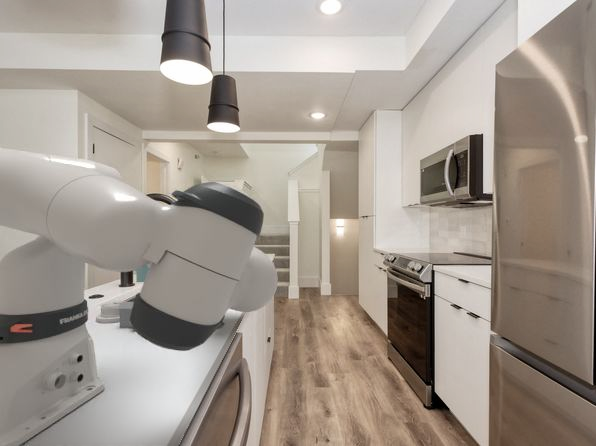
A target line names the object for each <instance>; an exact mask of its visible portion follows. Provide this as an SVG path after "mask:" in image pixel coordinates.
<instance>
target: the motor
mask: <svg viewBox="0 0 596 446" xmlns="http://www.w3.org/2000/svg"><path fill="white" fill-rule="evenodd" d="M135 297H136V295H133V296H132V297H129V298H127V299H125V300H122V301H123V302H120V303H119V317H120V322H119V328H120V329H124V328H125V329H126V328H127V329H129V328H132V329H134V327H133V326H132V324H131V322H130V317H131V311H132V307H133V303H134V300H135Z"/></svg>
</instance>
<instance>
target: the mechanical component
mask: <svg viewBox="0 0 596 446" xmlns="http://www.w3.org/2000/svg"><path fill="white" fill-rule="evenodd" d="M123 301H124V300H117V301H109V302H107V303H103V304H101V305H100V306H101V307H100V313H98V314H96V316H95V321H96V322H97V323H101V324H111V323H113V324H114V323H120V317H119V303H120V302H123Z"/></svg>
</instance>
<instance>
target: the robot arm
mask: <svg viewBox="0 0 596 446" xmlns="http://www.w3.org/2000/svg"><path fill="white" fill-rule="evenodd" d="M171 196H172V197H173V198H175V199H176V200H175V201H174V202H172V203H171V204H164V203H161V202H159V201H158V200H155V199H153V198H151V197H150V196H148V195H146V194H145V193H143V192H142V191H140V190H138V189H137V188H135V187H134V186H132V185H130V184H128V183H126V182H125V180H124V178H123V176H122V175H121V174H120V172H119V171H118V170H117V169H116V167H112V166H110V165H107V164H103V163H100V162H97V161H94V160H91V159H86V158H81V157H79V158H77V157H72V156H71V157H70V156H63V155H57V154H49V153H43V152H35V151H34V152H33V151H27V150H20V149H11V148H6V147H5V148H4V147H0V226H1V227H4V228H5V227H6V228H9V229H12V230H17V231H21V232H24V233H29V234H33V235H37V237H35V239H33V240H31V241H28V242H26V243H25V244H23V245H20V246H17V247H16V248H14V249H12V250H11V251H9V252H8V253H6V254H5V255H4V256H3V257H2V259H1V260H0V446H21V445H23V444H24V443H25V442H27V441H29V440H30V439H31V438H33V437H34V436H37V434H39V433H41V432H42V431H44V430H45V429H47V428H48V427H50V426H51V425H53V424H54V423H56V422H57V421H59V420H60V419H62V418H63V417H65V416H67V415H68V414H69V413H71V412H73V411H74V410H76V409H77V408H79V407H80V406H81V405H83V404H84V403H86V402H88V401H89V400H90V399H91V400H92V398H94V397H95V396H97V395H98V394H100V393H101V392H102V391H104V390H105V383H104V381H103V380H102V379H100V378H99V376H98V367H97V359H96V352H95V344H94V340H93V338H92V337H91V335H90V332H89V331H88V329H87V325H86V323H87V321H88V320H89V316H88V315H89V307H88V301H87V299H85V277H86V276H85V275H86V274H85V272H86V270H85V269H86V264H88V265H90V266H93V267H96V268H99V269H103V270H106V271H111V272H117V273H127V272H132V271H136V270H137V269H140V268H142V267H144V266H146V265H147V266H148V268H149V270H148V273H147V275H146V278H145V281H144V282H142V283H143V284H142V287H141V289H140V292H138V293H136V295H135V296H136V297H135V300H134V303H133V307H132V311H131V317H130V322H131V324H132V326H133V327H134V328H133V329H134V331H135V332H136V334H138V335H139V336H140V337H142V338H143V339H145V340H146V341H147V342H149V343H151V344H152V345H154V346H156V347H159V348H162V349H166V350H172V351H178V352H179V351H180V352H187V351H191V350H192V349H195V348H198V347H199V346H202V345H203V344H205V342H206V341H208V339H210V338H211V336H212V335H213V334H214V333H215V332H216V331H217V330H221V329H222V328H223V327H224V326H225V325H226V324H225V322H224V321H223V320H224V319H225V317H226V316H225V314H226V313H227V312H228V310H229V309H230V310H232V311H235V312H240V313H241V312H242V313H250V312H252V313H253V312H256V311H258V310H261V309H263V308H264V307H265V306H267V305H268V304H269V303H270V302H271V300H272V299H273V297H274V296H275V293H276V292H277V288H278V281H279V280H278V277H279V276H278V273H277V269H276V267H275V265H274V263H273V262H272V259H270V257H269V256H268V255H267V254H266V253H265V252H264V251H262V250H261V249H260V248H257V247H256V246H255V243H256V240H257V237H260V235H261V232H262V228H263V225H264V224H263V223H264V217H265V215H264V214H265V213H264V211H263V209H262V207H261V205H260V204H259V203H258V202H256V201H255V200H254V198H252V196H251V195H250V194H249V193H247V192H246V191H245V190H243V189H241V188H239V187H237V186H235V185H231V184H227V183H220V182H216V181H207V182H201V183H197V184H194V185H192V186H191V187H189V188H187V189H185V190H184V191H182V190H174V191H173V192H171Z"/></svg>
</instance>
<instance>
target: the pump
mask: <svg viewBox="0 0 596 446" xmlns="http://www.w3.org/2000/svg"><path fill="white" fill-rule="evenodd" d="M148 270H149V268H148V266H147V265H146V266H144V267H142V268H140V269H137V270H135V271H136V276H135V277H136V283H144V281H145V278H146V275H147V273H148Z"/></svg>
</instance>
